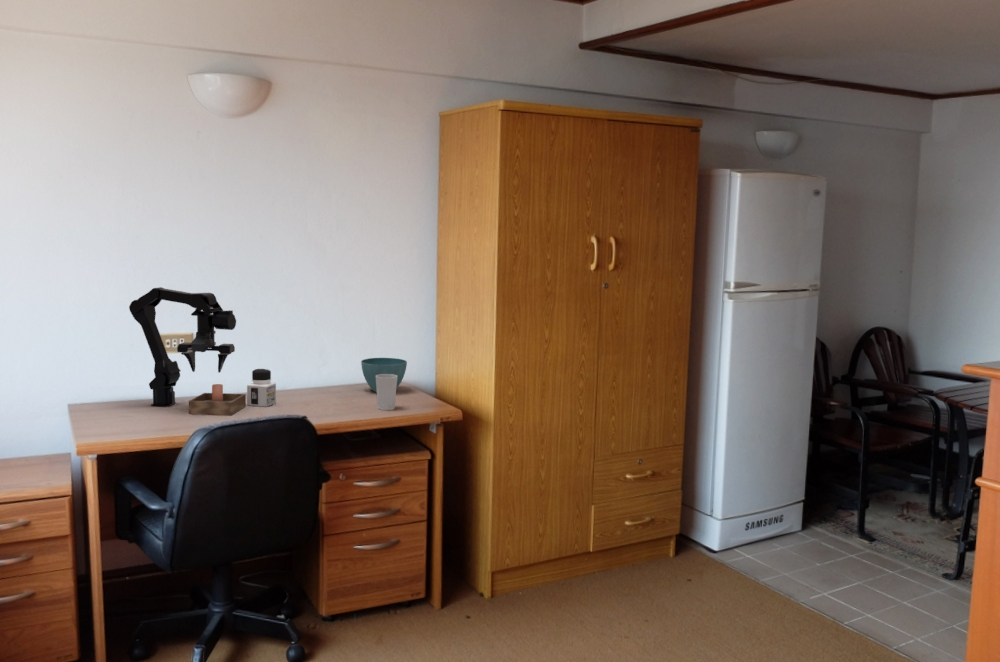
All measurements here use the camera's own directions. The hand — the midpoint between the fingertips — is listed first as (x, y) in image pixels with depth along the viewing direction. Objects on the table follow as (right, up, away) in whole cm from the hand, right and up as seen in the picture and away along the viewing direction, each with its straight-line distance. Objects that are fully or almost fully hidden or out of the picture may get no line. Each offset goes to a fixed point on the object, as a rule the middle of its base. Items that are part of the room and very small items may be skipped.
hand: (206, 372), depth 305 cm
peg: (+4, -13, -2) cm, 14 cm away
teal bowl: (+58, -10, +41) cm, 71 cm away
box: (+5, -13, -1) cm, 14 cm away
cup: (+63, -14, +9) cm, 65 cm away
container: (+17, -13, +10) cm, 23 cm away
